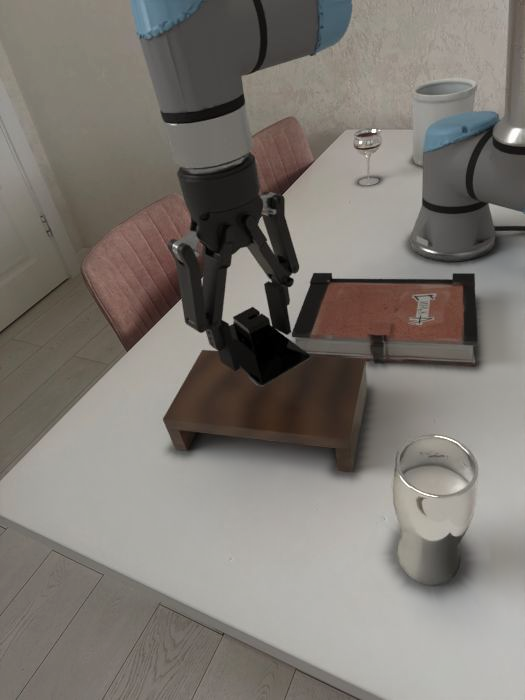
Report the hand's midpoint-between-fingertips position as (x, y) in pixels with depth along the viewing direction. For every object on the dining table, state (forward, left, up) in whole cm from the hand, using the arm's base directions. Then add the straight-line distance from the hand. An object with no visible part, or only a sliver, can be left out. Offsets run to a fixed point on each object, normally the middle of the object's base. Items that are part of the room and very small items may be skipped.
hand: (256, 346), depth 61 cm
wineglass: (-3, -83, -13) cm, 84 cm away
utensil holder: (-20, -96, -13) cm, 99 cm away
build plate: (0, 0, 0) cm, 1 cm away
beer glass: (-21, +16, -13) cm, 30 cm away
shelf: (0, 0, -13) cm, 13 cm away
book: (-13, -22, -13) cm, 29 cm away
